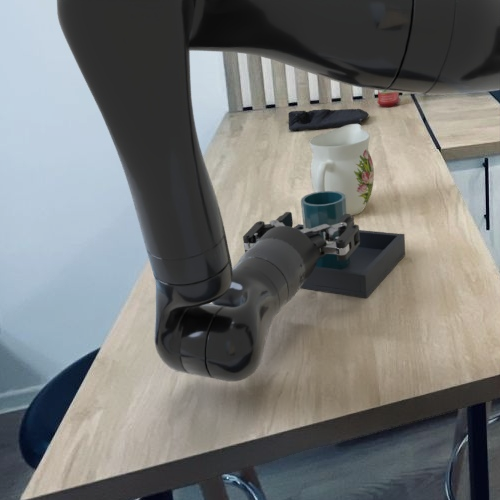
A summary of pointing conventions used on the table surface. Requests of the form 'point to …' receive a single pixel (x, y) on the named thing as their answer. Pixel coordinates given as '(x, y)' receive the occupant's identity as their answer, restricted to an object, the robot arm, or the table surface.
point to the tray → (360, 265)
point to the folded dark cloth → (324, 118)
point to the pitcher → (343, 165)
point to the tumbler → (325, 219)
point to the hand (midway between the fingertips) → (318, 219)
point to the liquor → (388, 98)
